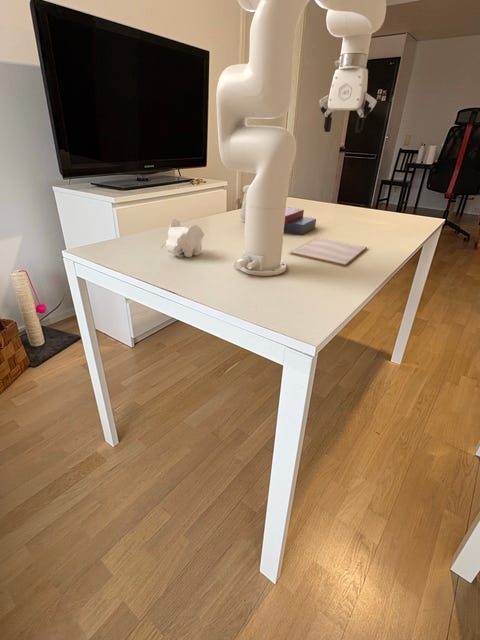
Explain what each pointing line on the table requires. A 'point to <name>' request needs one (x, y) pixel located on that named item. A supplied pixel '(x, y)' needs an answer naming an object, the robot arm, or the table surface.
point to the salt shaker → (244, 203)
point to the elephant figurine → (184, 239)
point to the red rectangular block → (293, 214)
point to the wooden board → (330, 251)
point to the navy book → (300, 225)
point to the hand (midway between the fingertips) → (342, 132)
